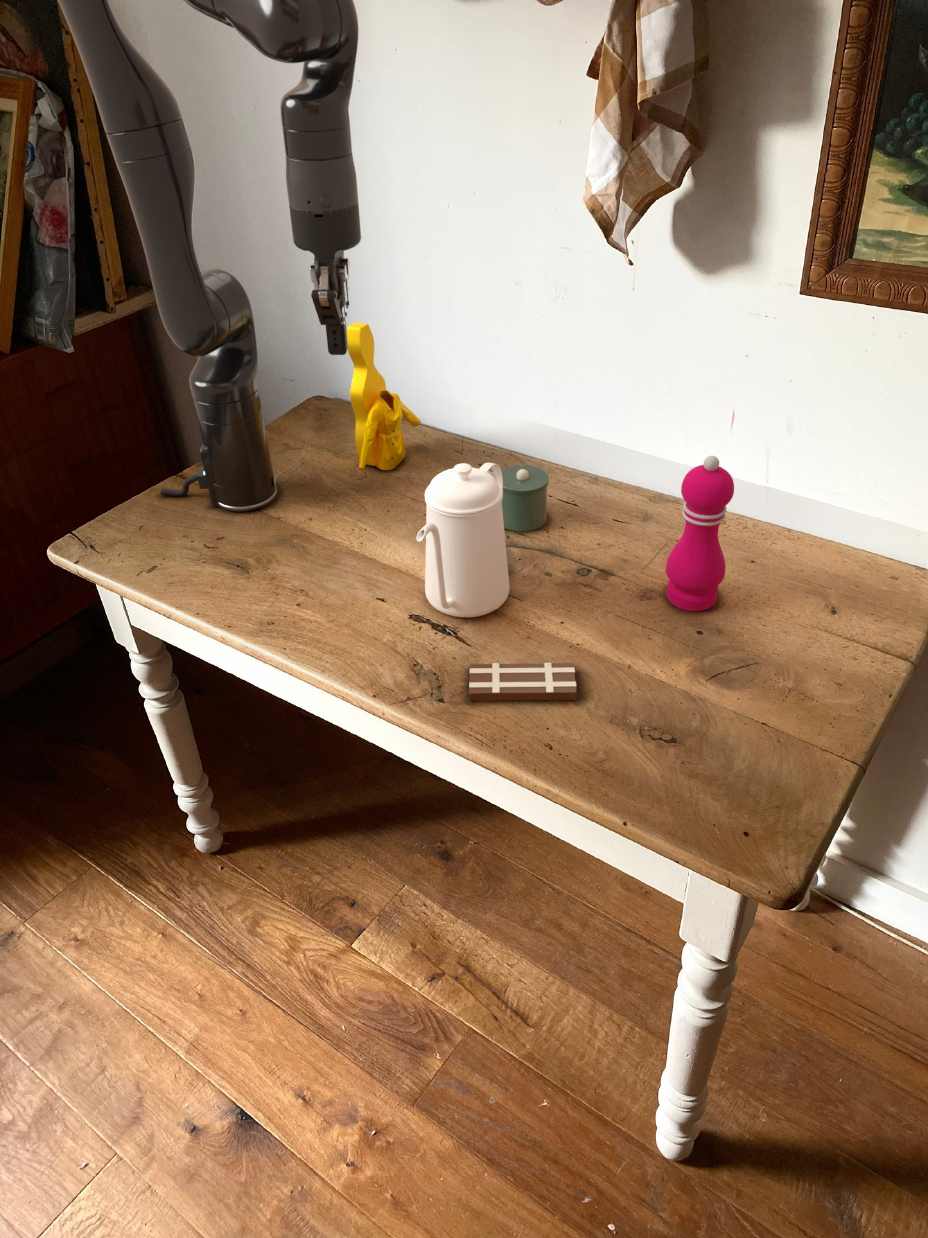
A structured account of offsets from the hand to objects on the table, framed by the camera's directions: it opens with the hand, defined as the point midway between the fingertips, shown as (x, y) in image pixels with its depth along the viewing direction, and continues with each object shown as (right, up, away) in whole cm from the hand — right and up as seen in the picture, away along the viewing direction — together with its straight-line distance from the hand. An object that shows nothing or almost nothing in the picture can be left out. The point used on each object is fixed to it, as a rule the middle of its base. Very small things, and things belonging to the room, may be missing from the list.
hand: (338, 352), depth 110 cm
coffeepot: (+15, -29, +8) cm, 34 cm away
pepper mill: (+44, -29, +7) cm, 54 cm away
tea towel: (+22, -40, -6) cm, 46 cm away
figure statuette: (+2, -7, +38) cm, 39 cm away
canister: (+24, -18, +23) cm, 37 cm away
